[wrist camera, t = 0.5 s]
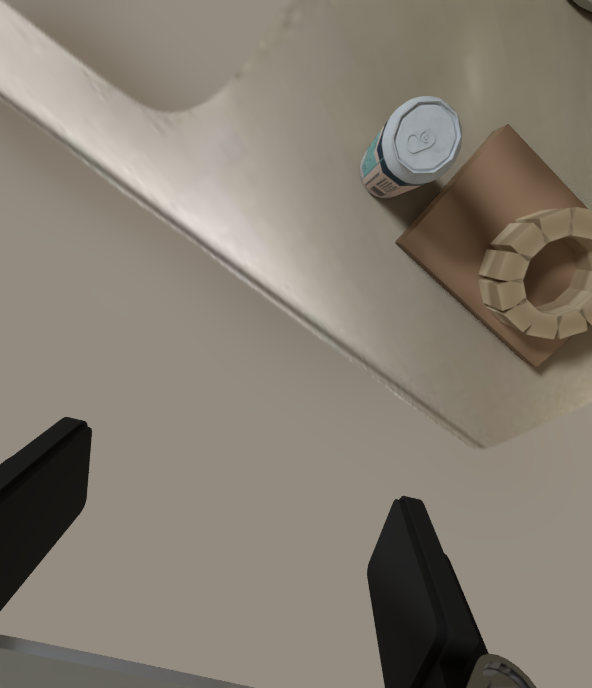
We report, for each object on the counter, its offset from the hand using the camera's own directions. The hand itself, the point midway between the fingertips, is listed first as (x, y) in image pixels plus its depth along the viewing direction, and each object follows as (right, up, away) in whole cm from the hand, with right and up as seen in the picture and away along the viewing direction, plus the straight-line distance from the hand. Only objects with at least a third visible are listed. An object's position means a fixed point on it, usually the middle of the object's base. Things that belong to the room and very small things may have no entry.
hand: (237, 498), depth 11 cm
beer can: (+10, +20, +22) cm, 31 cm away
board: (+22, +13, +23) cm, 35 cm away
